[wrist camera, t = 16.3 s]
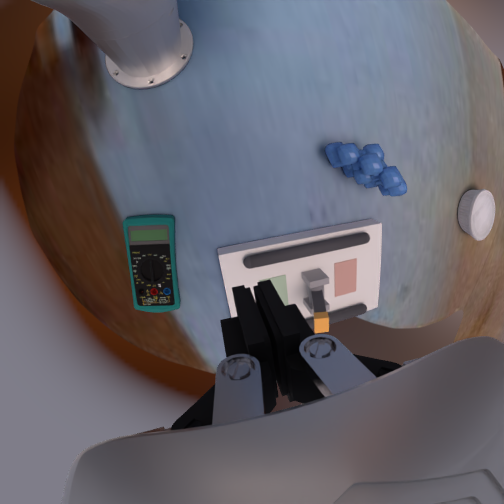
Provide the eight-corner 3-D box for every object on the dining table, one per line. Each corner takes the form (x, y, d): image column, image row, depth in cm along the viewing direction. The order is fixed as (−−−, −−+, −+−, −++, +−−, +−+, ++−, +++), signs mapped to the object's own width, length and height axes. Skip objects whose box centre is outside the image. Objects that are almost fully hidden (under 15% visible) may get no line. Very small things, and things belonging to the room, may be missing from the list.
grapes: (382, 162, 41) (431, 170, 30) (364, 197, 43) (411, 214, 32) (328, 123, 38) (373, 116, 27) (308, 160, 39) (348, 165, 28)
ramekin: (462, 178, 46) (479, 182, 41) (483, 195, 49) (499, 200, 44) (448, 226, 49) (465, 233, 44) (471, 238, 52) (486, 245, 47)
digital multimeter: (137, 305, 43) (134, 314, 40) (126, 215, 38) (120, 219, 35) (181, 304, 44) (180, 314, 41) (175, 212, 39) (173, 217, 36)
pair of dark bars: (241, 255, 39) (243, 259, 38) (366, 229, 42) (372, 233, 40) (255, 338, 45) (258, 345, 43) (363, 309, 47) (368, 314, 45)
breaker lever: (307, 280, 42) (311, 316, 33) (323, 278, 42) (331, 314, 33) (308, 297, 43) (312, 335, 34) (323, 295, 43) (331, 333, 34)
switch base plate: (217, 248, 41) (220, 265, 35) (371, 218, 44) (394, 229, 38) (235, 334, 47) (241, 359, 41) (369, 299, 50) (387, 316, 44)
